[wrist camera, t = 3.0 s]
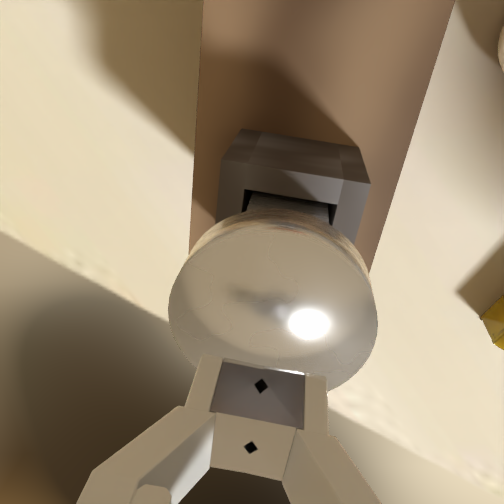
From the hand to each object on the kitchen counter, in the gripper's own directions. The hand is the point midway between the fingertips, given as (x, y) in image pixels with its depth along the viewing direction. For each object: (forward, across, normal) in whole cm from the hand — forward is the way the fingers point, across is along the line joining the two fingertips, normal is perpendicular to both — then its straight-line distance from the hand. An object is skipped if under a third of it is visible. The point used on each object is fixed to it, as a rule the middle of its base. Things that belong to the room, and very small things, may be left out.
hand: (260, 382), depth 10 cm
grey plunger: (+9, 0, 0) cm, 9 cm away
